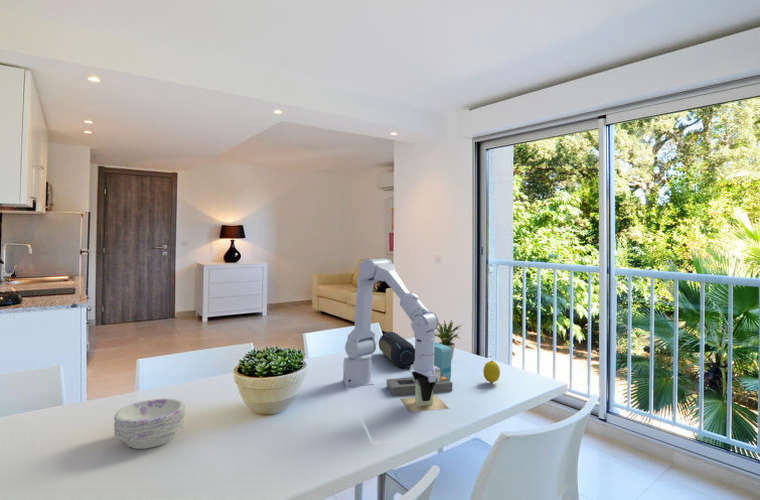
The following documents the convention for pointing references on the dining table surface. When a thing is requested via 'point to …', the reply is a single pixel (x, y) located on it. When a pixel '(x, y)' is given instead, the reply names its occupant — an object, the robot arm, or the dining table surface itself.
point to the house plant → (447, 335)
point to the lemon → (491, 371)
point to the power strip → (408, 386)
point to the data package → (443, 359)
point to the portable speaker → (397, 349)
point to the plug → (419, 397)
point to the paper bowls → (149, 422)
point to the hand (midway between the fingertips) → (424, 398)
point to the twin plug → (437, 374)
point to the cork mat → (414, 407)
